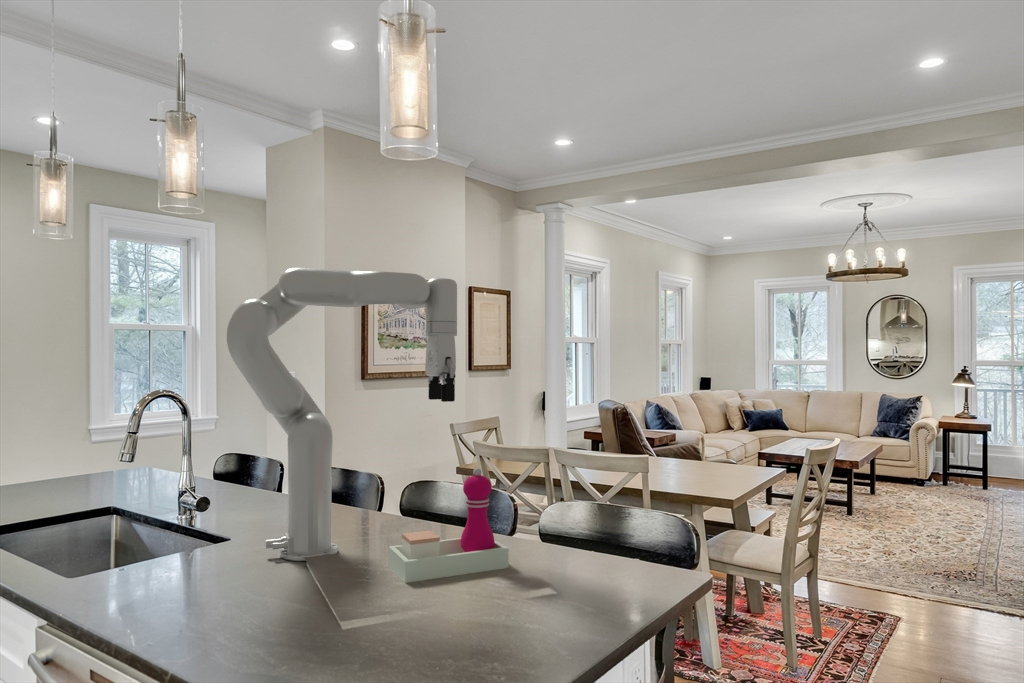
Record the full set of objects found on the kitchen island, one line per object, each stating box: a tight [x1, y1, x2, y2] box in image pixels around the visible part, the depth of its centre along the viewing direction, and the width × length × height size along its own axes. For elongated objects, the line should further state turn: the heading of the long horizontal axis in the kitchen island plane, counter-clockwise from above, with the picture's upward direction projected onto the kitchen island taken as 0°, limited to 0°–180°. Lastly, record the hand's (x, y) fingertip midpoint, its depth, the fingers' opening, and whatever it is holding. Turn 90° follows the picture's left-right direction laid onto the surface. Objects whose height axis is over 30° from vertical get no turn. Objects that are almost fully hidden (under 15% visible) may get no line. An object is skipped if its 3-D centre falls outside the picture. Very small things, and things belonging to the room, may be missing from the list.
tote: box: [388, 537, 510, 584], centre depth 139 cm, size 22×12×5 cm, turn 115°
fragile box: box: [401, 530, 441, 560], centre depth 137 cm, size 6×6×7 cm
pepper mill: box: [460, 467, 495, 552], centre depth 142 cm, size 7×7×20 cm
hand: (441, 400), depth 162 cm, fingers open, 9 cm apart
